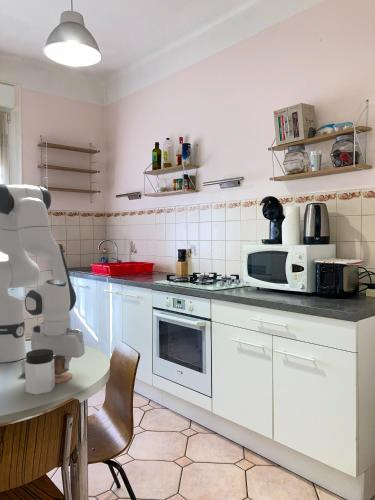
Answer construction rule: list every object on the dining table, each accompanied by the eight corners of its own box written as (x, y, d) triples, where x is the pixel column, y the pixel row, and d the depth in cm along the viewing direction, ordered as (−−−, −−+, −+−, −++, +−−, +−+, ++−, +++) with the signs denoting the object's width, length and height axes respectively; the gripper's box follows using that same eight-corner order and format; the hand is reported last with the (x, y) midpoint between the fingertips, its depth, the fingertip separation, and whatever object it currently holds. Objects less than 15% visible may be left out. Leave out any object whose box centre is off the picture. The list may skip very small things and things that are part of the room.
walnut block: (47, 373, 139) (47, 358, 139) (57, 368, 144) (56, 354, 144) (59, 375, 137) (59, 360, 137) (68, 370, 142) (68, 356, 142)
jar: (49, 394, 126) (48, 356, 126) (22, 395, 126) (21, 356, 126) (57, 384, 135) (56, 348, 135) (32, 384, 135) (31, 348, 134)
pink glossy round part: (38, 381, 138) (38, 378, 138) (56, 372, 146) (56, 370, 146) (60, 384, 135) (60, 382, 135) (77, 375, 143) (77, 373, 143)
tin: (18, 375, 144) (18, 362, 144) (28, 371, 149) (28, 358, 148) (29, 377, 142) (28, 364, 142) (38, 372, 147) (38, 360, 147)
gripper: (88, 327, 139) (88, 368, 140) (40, 323, 147) (41, 361, 147) (76, 331, 133) (77, 373, 134) (27, 327, 141) (28, 366, 141)
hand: (58, 367), depth 140 cm, fingers closed on walnut block, 5 cm apart
